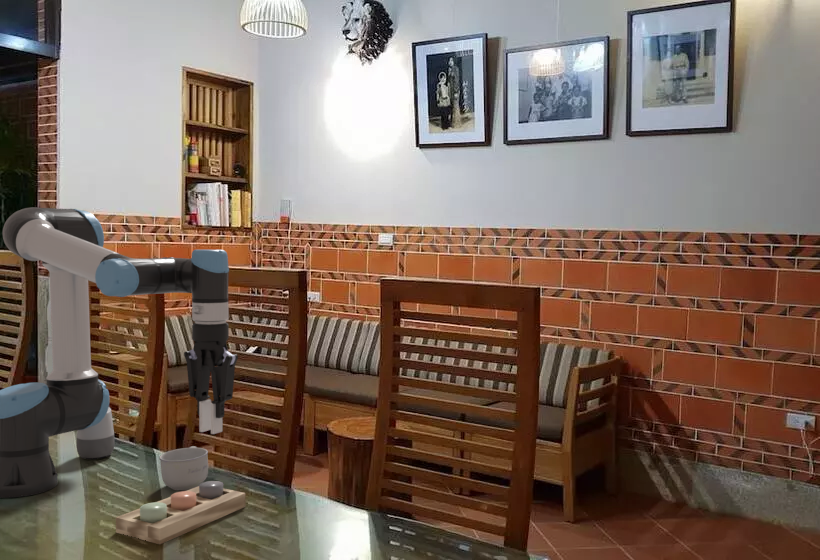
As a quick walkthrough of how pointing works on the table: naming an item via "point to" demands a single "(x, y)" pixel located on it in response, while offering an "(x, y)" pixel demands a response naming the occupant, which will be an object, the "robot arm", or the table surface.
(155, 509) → the sage button
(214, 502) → the button panel
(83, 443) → the smart speaker
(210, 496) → the charcoal button
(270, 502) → the table surface
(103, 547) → the table surface
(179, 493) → the terracotta button
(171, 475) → the teacup
